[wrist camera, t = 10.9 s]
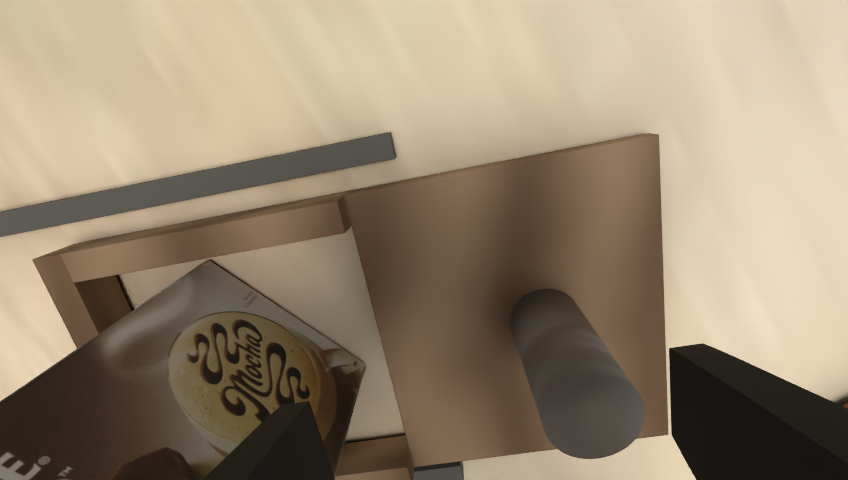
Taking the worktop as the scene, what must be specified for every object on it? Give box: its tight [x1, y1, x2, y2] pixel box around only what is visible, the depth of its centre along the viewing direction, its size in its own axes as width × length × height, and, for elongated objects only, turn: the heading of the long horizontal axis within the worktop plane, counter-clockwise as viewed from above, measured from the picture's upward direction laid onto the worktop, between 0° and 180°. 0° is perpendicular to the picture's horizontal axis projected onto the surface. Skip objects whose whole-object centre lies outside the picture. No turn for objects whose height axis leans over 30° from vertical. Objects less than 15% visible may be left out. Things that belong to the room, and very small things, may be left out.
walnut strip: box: [33, 133, 668, 480], centre depth 16 cm, size 25×14×7 cm, turn 101°
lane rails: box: [0, 132, 464, 480], centre depth 22 cm, size 28×30×1 cm
